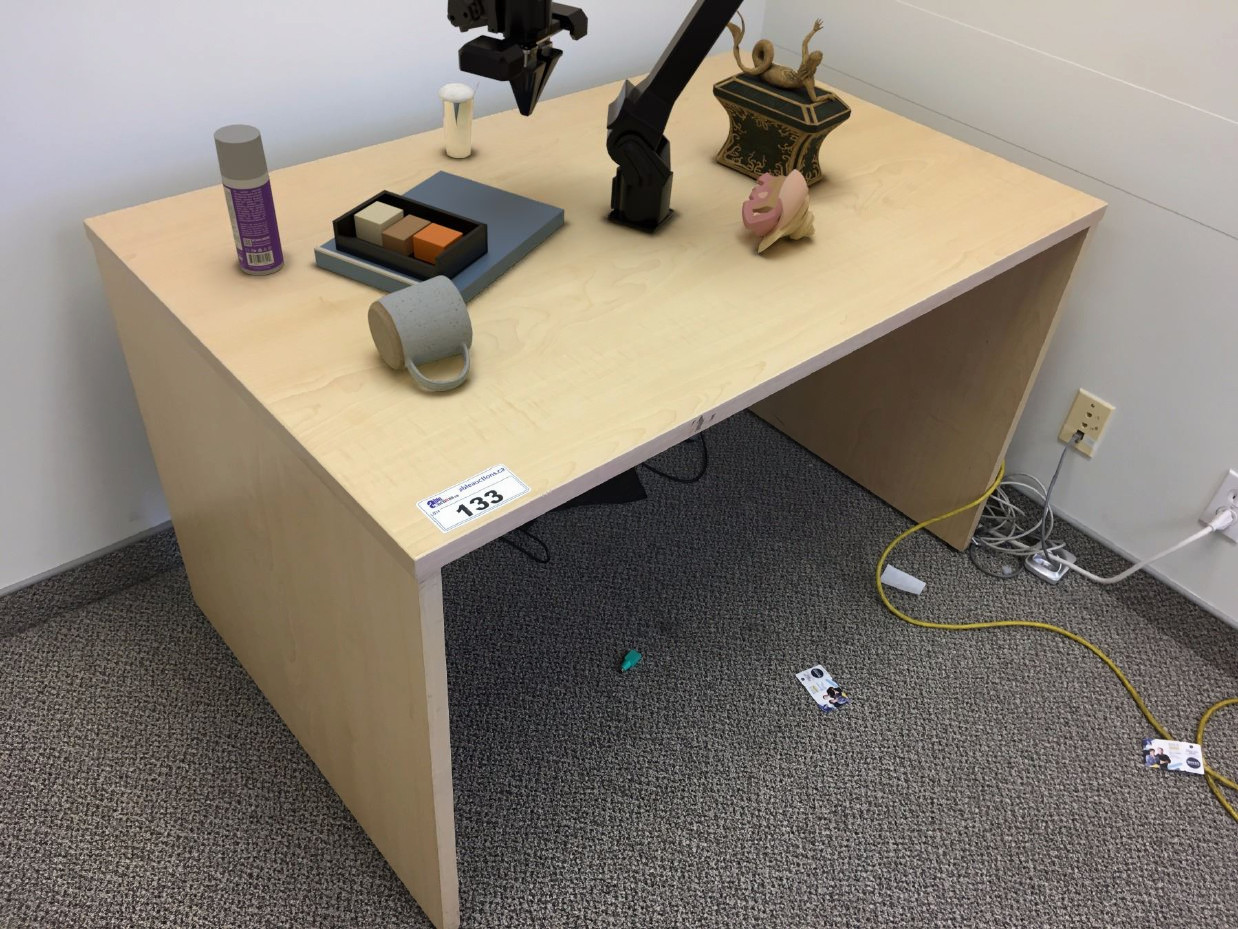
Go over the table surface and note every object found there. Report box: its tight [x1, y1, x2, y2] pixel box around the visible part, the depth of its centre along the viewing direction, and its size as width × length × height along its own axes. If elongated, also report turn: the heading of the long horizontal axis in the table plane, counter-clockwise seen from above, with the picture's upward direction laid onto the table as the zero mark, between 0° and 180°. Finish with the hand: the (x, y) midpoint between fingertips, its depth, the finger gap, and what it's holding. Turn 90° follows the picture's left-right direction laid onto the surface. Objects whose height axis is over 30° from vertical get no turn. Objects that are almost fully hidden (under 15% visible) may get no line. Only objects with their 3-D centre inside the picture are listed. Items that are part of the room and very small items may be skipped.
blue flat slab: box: [313, 170, 565, 305], centre depth 116 cm, size 18×24×2 cm
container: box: [213, 123, 285, 276], centre depth 105 cm, size 5×5×15 cm
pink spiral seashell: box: [741, 169, 816, 254], centre depth 120 cm, size 9×10×10 cm
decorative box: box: [712, 10, 852, 187], centre depth 132 cm, size 20×10×20 cm, turn 48°
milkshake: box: [438, 82, 480, 159], centre depth 131 cm, size 5×5×10 cm
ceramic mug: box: [367, 276, 474, 392], centre depth 96 cm, size 11×8×8 cm
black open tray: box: [331, 189, 488, 281], centre depth 110 cm, size 14×9×4 cm, turn 62°
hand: (525, 114), depth 116 cm, fingers closed
